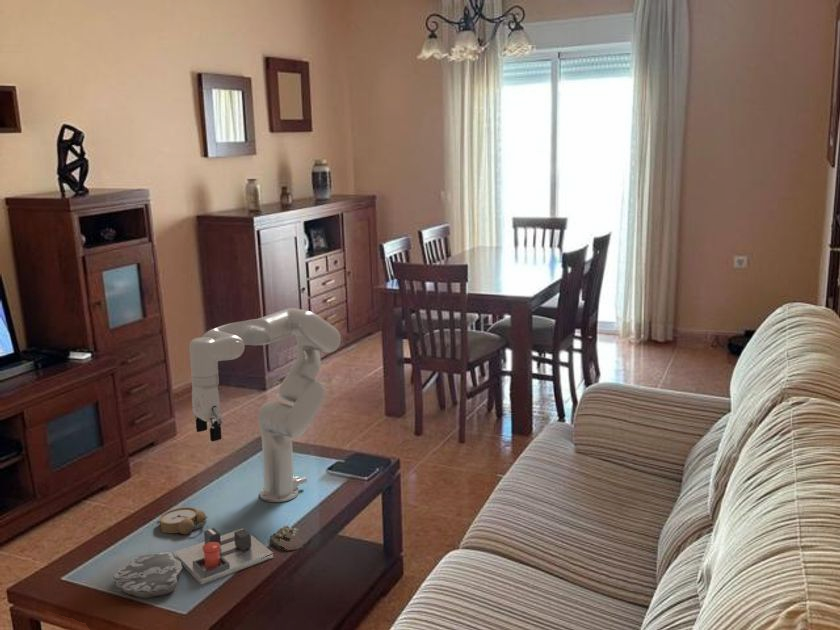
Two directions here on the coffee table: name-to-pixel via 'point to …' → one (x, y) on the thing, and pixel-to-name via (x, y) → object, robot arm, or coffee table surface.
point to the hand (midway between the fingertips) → (208, 435)
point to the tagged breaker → (212, 536)
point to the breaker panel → (222, 558)
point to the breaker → (242, 539)
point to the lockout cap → (211, 555)
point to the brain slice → (149, 575)
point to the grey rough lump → (282, 533)
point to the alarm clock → (182, 520)
